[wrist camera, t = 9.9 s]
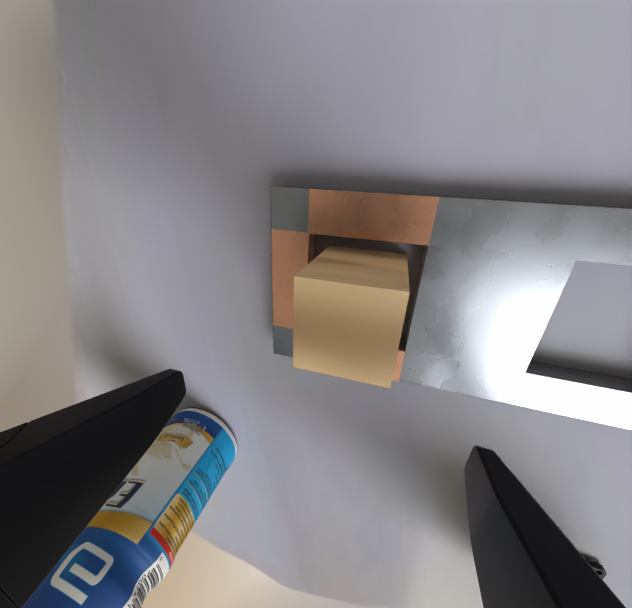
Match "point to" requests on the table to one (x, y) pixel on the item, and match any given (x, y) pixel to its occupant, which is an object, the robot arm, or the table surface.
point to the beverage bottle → (143, 519)
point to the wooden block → (350, 313)
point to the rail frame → (468, 287)
